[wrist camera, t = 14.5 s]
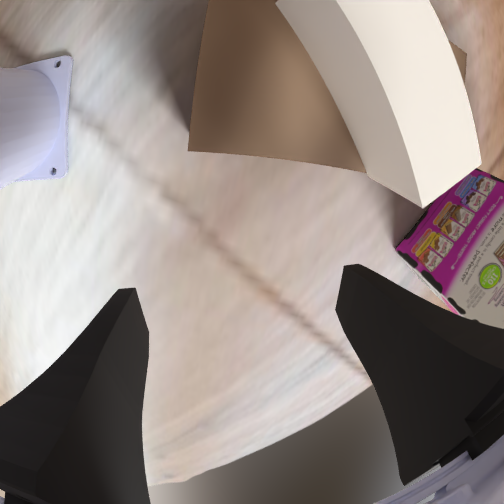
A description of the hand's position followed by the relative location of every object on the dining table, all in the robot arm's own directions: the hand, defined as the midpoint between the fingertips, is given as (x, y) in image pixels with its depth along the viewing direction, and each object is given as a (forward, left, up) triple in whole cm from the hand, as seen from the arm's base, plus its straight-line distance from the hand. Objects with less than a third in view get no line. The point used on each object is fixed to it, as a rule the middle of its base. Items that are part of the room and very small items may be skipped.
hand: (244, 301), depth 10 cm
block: (+5, +9, -4) cm, 11 cm away
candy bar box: (+20, +1, -10) cm, 22 cm away
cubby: (+5, +9, -10) cm, 14 cm away
